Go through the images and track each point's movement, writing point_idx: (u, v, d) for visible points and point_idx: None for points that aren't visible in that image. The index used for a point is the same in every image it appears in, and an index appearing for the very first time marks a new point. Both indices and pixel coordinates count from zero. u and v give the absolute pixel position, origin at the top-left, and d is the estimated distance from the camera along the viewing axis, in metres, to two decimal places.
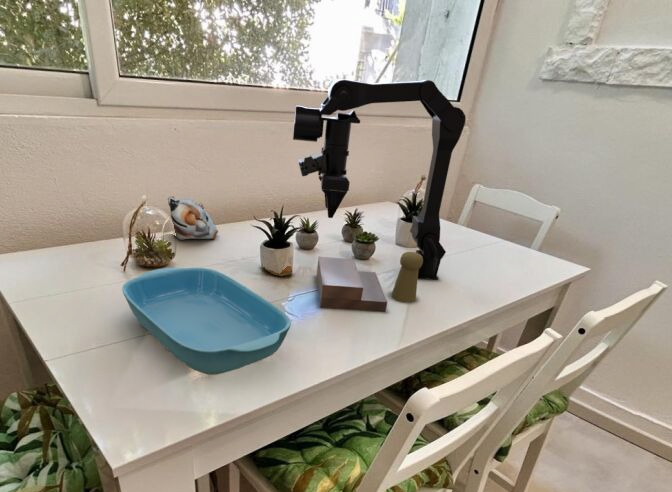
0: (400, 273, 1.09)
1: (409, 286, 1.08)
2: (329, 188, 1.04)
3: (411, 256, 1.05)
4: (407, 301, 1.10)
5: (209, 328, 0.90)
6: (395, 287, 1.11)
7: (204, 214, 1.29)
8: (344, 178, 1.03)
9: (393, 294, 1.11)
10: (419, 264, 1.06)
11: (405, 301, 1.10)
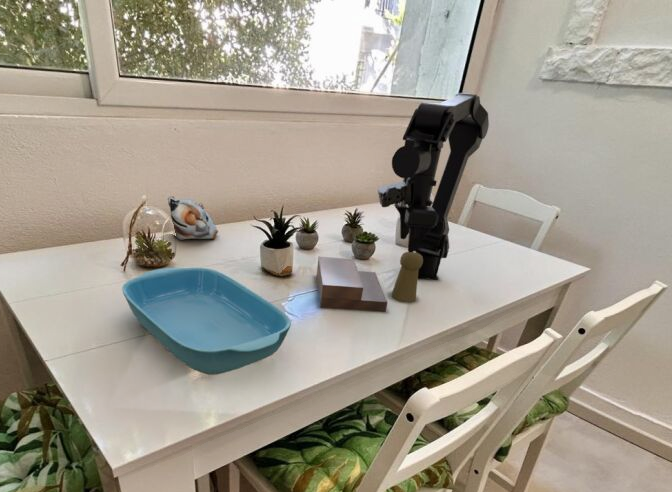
0: (400, 273, 1.09)
1: (409, 286, 1.08)
2: (416, 222, 0.94)
3: (411, 256, 1.05)
4: (407, 301, 1.10)
5: (209, 328, 0.90)
6: (395, 287, 1.11)
7: (204, 214, 1.29)
8: (433, 212, 0.94)
9: (393, 294, 1.11)
10: (419, 264, 1.06)
11: (405, 301, 1.10)
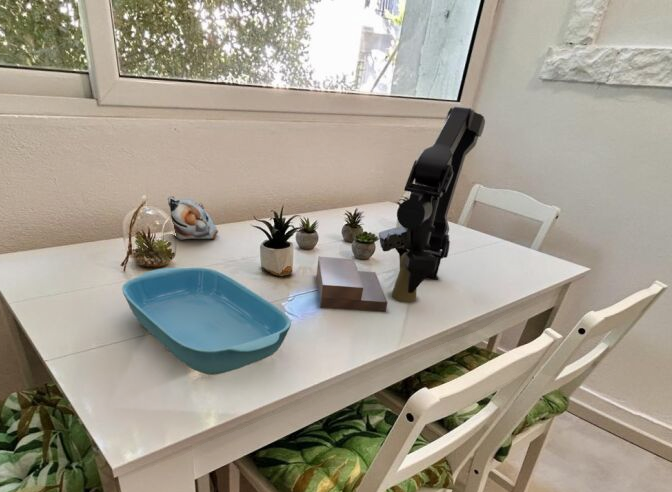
0: (400, 273, 1.09)
1: None
2: (416, 268, 0.99)
3: None
4: (407, 301, 1.10)
5: (209, 328, 0.90)
6: (395, 287, 1.11)
7: (204, 214, 1.29)
8: (432, 258, 0.98)
9: (393, 294, 1.11)
10: None
11: (405, 301, 1.10)
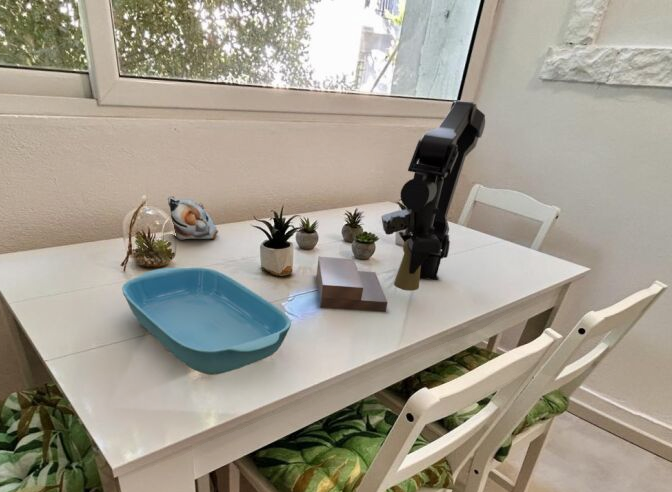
0: (403, 260, 1.07)
1: None
2: (420, 250, 0.96)
3: None
4: (410, 289, 1.08)
5: (209, 328, 0.90)
6: (398, 275, 1.09)
7: (204, 214, 1.29)
8: (437, 240, 0.96)
9: (396, 282, 1.10)
10: None
11: (408, 289, 1.08)
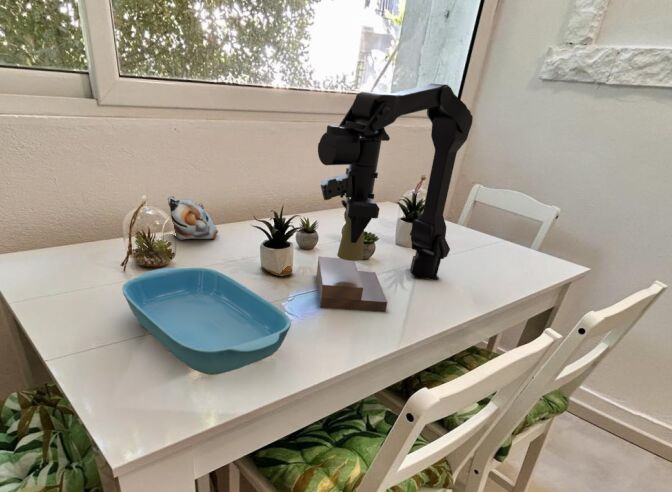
0: (345, 229, 1.02)
1: None
2: (356, 215, 0.92)
3: None
4: (353, 259, 1.04)
5: (209, 328, 0.90)
6: (340, 244, 1.04)
7: (204, 214, 1.29)
8: (373, 204, 0.91)
9: (339, 252, 1.05)
10: None
11: (351, 259, 1.04)
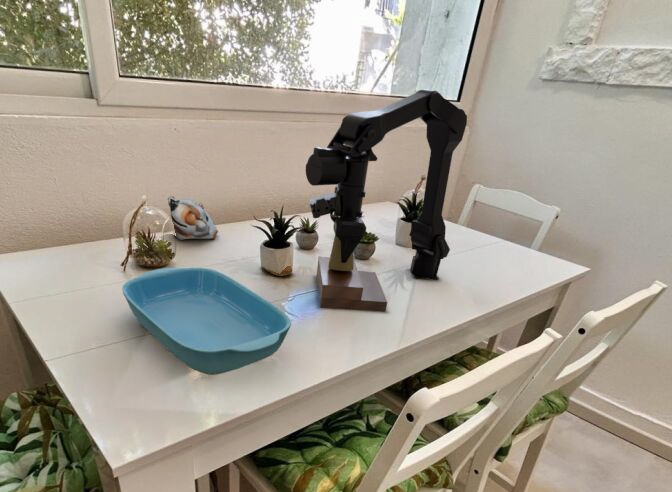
0: (334, 240, 1.05)
1: None
2: (344, 234, 0.94)
3: None
4: (343, 269, 1.05)
5: (209, 328, 0.90)
6: (331, 256, 1.06)
7: (204, 214, 1.29)
8: (360, 223, 0.93)
9: (329, 264, 1.07)
10: None
11: (341, 269, 1.05)
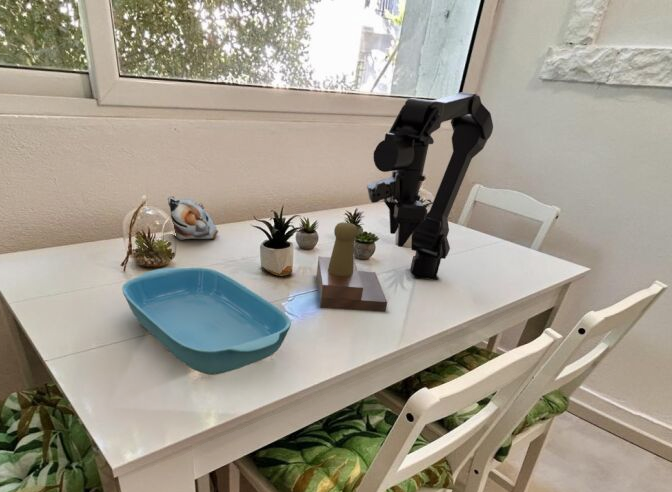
0: (335, 245, 1.04)
1: (344, 258, 1.04)
2: (405, 217, 0.96)
3: (344, 226, 1.01)
4: (343, 274, 1.06)
5: (209, 328, 0.90)
6: (331, 260, 1.06)
7: (204, 214, 1.29)
8: (422, 206, 0.95)
9: (329, 267, 1.07)
10: (353, 234, 1.01)
11: (341, 274, 1.06)
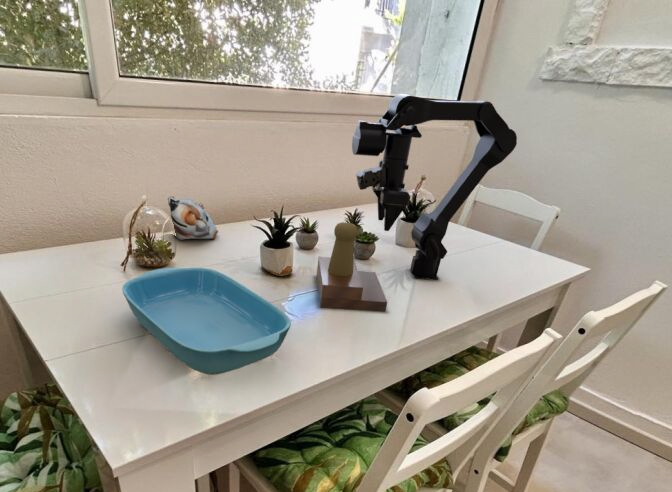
0: (335, 245, 1.04)
1: (344, 258, 1.04)
2: (390, 202, 1.04)
3: (344, 226, 1.01)
4: (343, 274, 1.06)
5: (209, 328, 0.90)
6: (331, 260, 1.06)
7: (204, 214, 1.29)
8: (405, 192, 1.04)
9: (329, 267, 1.07)
10: (353, 234, 1.01)
11: (341, 274, 1.06)
